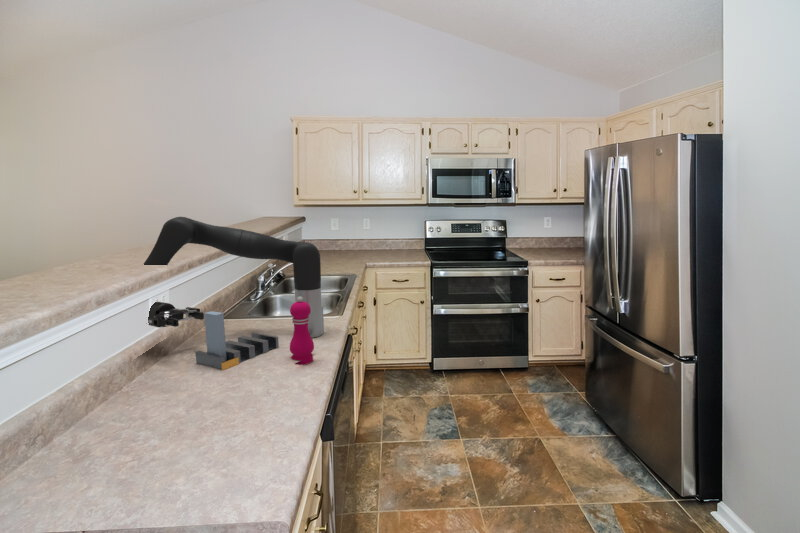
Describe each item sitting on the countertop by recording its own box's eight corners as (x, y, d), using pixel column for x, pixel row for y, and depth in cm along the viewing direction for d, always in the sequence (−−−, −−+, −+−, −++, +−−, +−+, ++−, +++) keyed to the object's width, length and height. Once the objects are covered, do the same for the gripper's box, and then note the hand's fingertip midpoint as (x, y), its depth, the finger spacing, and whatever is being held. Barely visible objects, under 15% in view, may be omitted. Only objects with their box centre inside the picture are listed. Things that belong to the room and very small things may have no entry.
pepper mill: (309, 366, 132) (306, 299, 130) (286, 364, 134) (283, 298, 131) (318, 357, 139) (316, 294, 137) (296, 356, 141) (293, 293, 138)
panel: (215, 360, 133) (211, 311, 131) (226, 363, 131) (223, 313, 129) (208, 363, 131) (204, 313, 129) (219, 366, 129) (216, 315, 127)
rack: (254, 346, 151) (253, 332, 150) (279, 351, 145) (279, 336, 144) (196, 368, 132) (195, 351, 131) (223, 375, 126) (222, 358, 125)
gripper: (133, 306, 136) (167, 312, 129) (176, 297, 149) (209, 302, 141) (136, 330, 137) (169, 338, 130) (178, 319, 150) (211, 325, 142)
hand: (190, 319), depth 135 cm, fingers open, 8 cm apart
